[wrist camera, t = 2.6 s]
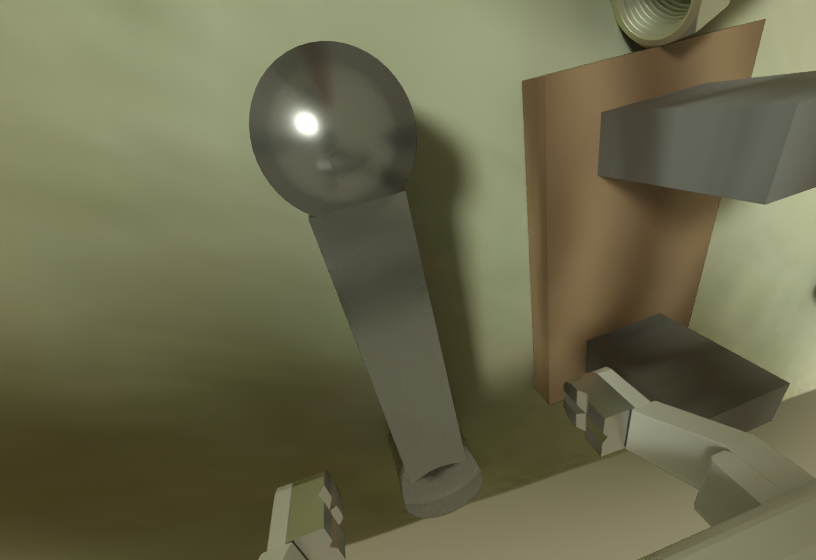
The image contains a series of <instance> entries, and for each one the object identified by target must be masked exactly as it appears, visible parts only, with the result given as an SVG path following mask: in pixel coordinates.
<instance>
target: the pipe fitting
mask: <svg viewBox="0 0 816 560" xmlns="http://www.w3.org/2000/svg"><path fill="white" fill-rule="evenodd" d="M729 2H730V0H612V7H613V11H614V15H615V18H616V21H617V23H618V25H619V26H620V27H621V29H622V30H623V31H624V32H625V33H626V35H628V36H629V37H630V38H631V39H632V40H634V41H635V42H636V43H638V44H639V45H641V46H643V47H644V48H646V49H647V48H653V47H657V46H661V45H664V44H668V43H670V42H673V41H676V40H679V39H681V38H684V37H686V36H689V35H691V34H694V33H696V32H697V31H698V30H699V29H701V28H702V27H703V26H704V25H705V24H707V23H708V22H709V21H710V20H711V19H713V18H714V17H715V16H716V15H717V14H719V13H720V12H721V11H722V10H723V9H725V8H726V7H727V6H728V4H729Z"/></svg>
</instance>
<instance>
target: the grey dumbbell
mask: <svg viewBox="0 0 816 560" xmlns="http://www.w3.org/2000/svg"><path fill="white" fill-rule="evenodd" d="M249 129H250V139H251V143H252V148H253V152H254V154H255V157H256V160H257V163H258V165H259V167H260V169H261V171H262V173H263V174H264V176H265V177H266V179H267V180H268V182H269V183H270V184H271V186H272V187H273V188H274V189H275V190H276V192H277V193H278V194H280V195H281V196H282V197H283V198H284V199H285V200H286V201H287V202H289V203H290V204H292V205H293V206H294V207H296V208H298V209H300V210H301V211H303V212H305V213H308V214H309V222H310V224H311V227H312V229H313V232H314V235H315V237H316V240H317V242H318V245H319V247H320V250H321V253H322V255H323V258H324V260H325V263H326V266H327V268H328V271H329V273H330V276H331V278H332V281H333V284H334V286H335V289H336V291H337V294H338V297H339V299H340V302H341V304H342V307H343V309H344V312H345V315H346V317H347V320H348V322H349V325H350V328H351V330H352V333H353V335H354V338H355V340H356V343H357V346H358V348H359V351H360V353H361V356H362V359H363V361H364V364H365V366H366V369H367V371H368V374H369V377H370V379H371V382H372V384H373V387H374V390H375V392H376V395H377V397H378V400H379V402H380V405H381V408H382V410H383V413H384V415H385V418H386V421H387V423H388V426H389V428H390V433H389V440H390V444H391V449H392V453H393V457H394V461H395V465H396V470H397V474H398V478H399V482H400V487H401V491H402V495H403V499H404V503H405V507H406V509H407V511H408V512H409V513H410V514H412V515H414V516H416V517H420V518H434V517H439V516H443V515H446V514H449V513H451V512H453V511H456V510H457V509H459V508H461V507H462V506H464V505H465V504H467V503H468V502H469V501H470V500H471V499H472V498H473V497H474V496H475V495H476V494H477V493H478V491H479V490H480V488H481V485H482V482H483V475H482V472H481V470H480V468H479V466H478V464H477V462H476V460H475V458H474V456H473V453H472V451H471V449H470V447H469V445H468V443H467V441H466V439H465V437H464V435H463V433H462V431H461V428H460V426H459V424H458V422H457V417H456V413H455V408H454V404H453V399H452V395H451V390H450V386H449V382H448V377H447V373H446V368H445V364H444V359H443V355H442V350H441V346H440V342H439V337H438V333H437V328H436V324H435V319H434V315H433V310H432V306H431V301H430V297H429V293H428V288H427V284H426V279H425V275H424V270H423V266H422V261H421V257H420V252H419V248H418V244H417V239H416V235H415V230H414V226H413V221H412V217H411V212H410V208H409V204H408V199H407V195H406V191H405V190H404V189H402V187H403V186H404V184H405V183H406V181H407V179H408V177H409V175H410V172H411V169H412V166H413V163H414V159H415V154H416V145H417V131H416V124H415V118H414V114H413V110H412V107H411V105H410V102H409V99H408V97H407V95H406V93H405V91H404V89H403V87H402V86H401V85H400V83H399V82H398V80H397V79H396V77H395V76H394V75H393V74H392V73H391V72H390V70H389V69H388V68H387V67H386V66H385V65H383V64H382V63H381V62H380V61H379V60H378V59H376V58H375V57H373V56H372V55H370V54H369V53H367V52H365V51H363V50H361V49H359V48H357V47H354V46H351V45H348V44H345V43H339V42H334V41H319V42H311V43H307V44H304V45H300V46H297V47H295V48H293V49H291V50H289V51H287V52H286V53H284V54H283V55H282V56H280V57H279V58H278V59H276V60H275V61H274V62H273V63H272V64H271V66H270V67H269V68H268V69H267V70H266V72H265V73H264V75H263V76H262V77H261V79H260V81H259V83H258V85H257V87H256V89H255V92H254V95H253V99H252V102H251V108H250V116H249Z"/></svg>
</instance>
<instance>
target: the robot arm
mask: <svg viewBox="0 0 816 560" xmlns="http://www.w3.org/2000/svg"><path fill="white" fill-rule="evenodd" d="M563 390H564V391H565V392H566V393H567V394H566V396H565V397H564V399H563V402H564V408H565V411H566V414H567V415H568V417H569V419H570V420H571V421H572V423H573V424H574V425H575V426H576V427H577V428H580V429H582V430H584V431H585V436H586V439H587V441H588V442H589V443H590V444H591V445H592V447H593V448H594V449H595V450H596V451H597V452H598V454H599V455H600V456H601V457H602V456H604V455H607V454H610V453H613V452H615V451H618V450H621V449H624V448H626V450H628V451H630V452H631V453H633V454H635V455H637V456H639V457H640V458H643V459H644V460H646V461H648V462H650V463H651V464H653V465H655V466H657V467H659V468H661V469H662V470H664V471H666V472H668V473H669V474H671V475H673V476H675V477H677V478H679V479H680V480H682V481H684V482H686V483H688V484H689V485H691V486H693V487H695V488H697V489H699V492H698V494H697V497H696V500H695V503H694V505H695V506H694V507H695V510H696V511H697V512H698V513H699V514H700V515H701V516H702V517H703V518H704V520H705V521H706V522H707V523H708V524H709V525H710V526H711V527H710V528H708V529H706V530H703V531H701V532H699V533H697V534H694V535H692V536H690V537H688V538H686V539H683V540H681V541H679V542H676V543H674V544H672V545H670V546H667V547H665V548H663V549H661V550H659V551H656V552H654V553H652V554H650V555H647V556H645V557H643V558H640V559H638V560H816V479H815V478H814V477H813V476H811V475H810V474H808V473H807V472H806V471H804V470H803V469H802V468H800V467H799V466H797V465H796V464H795V463H793V462H792V461H791V460H789V459H788V458H786V457H785V456H783V455H782V454H781V453H779V452H778V451H777V450H775V449H774V448H772V447H771V446H770V445H768V444H767V443H765V442H764V441H763V440H761V439H760V438H758V437H757V436H755V435H752V434H749V433H747V432H744V431H741V430H738V429H735V428H732V427H729V426H727V425H724V424H721V423H718V422H715V421H712V420H709V419H706V418H704V417H701V416H698V415H695V414H692V413H689V412H686V411H684V410H681V409H678V408H675V407H672V406H669V405H666V404H663V403H661V402H658V401H652V402H650V401H649V400H648V399H647V398H646V397H644V396H643V395H642V394H641V393H639V392H638V391H637V390H636V389H635V388H633V387H632V386H631V385H630V384H629V383H627V382H626V381H625V380H624V379H623V378H621V377H620V376H619V375H618V374H617V373H615V372H614V371H613V370H612V369H611V368H608V367H603V368H601V369H598V370H596V371H593V372H589V373H586V374H584V375H581V376H579V377H576V378H574V379H571V380H568V381H566V382H565V383H564V387H563ZM342 519H343V505H342V499H341V495H340V492H339V489H338V487H337V485H336V484H333V483H331V475H330V474H329V472H328V470H327V471H324V472H321V473H318V474H315V475H312V476H310V477H307V478H304V479H301V480H298V481H295V482H292V483H289V484H287V485H284V486H281V487H278V488H277V491H276V493H275V496H274V503H273V510H272V517H271V525H270V532H269V539H268V546H267V551H266V552H264V553H262V554H261V555H260V557H259V559H258V560H345V539H344V532H343V531H342V529H341V527H340V526H339V525H340V523H341V521H342Z"/></svg>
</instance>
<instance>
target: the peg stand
mask: <svg viewBox="0 0 816 560" xmlns="http://www.w3.org/2000/svg"><path fill="white" fill-rule="evenodd" d="M765 20H766V19H763V20H759V21H755V22H750V23H746V24H742V25H738V26H733V27H729V28H725V29H721V30H717V31H713V32H710V33H706V34H702V35H698V36H694V37H690V38H686V39H682V40H679V41H675V42H671V43H668V44H664V45H661V46H657V47H653V48H648V49H644V50H640V51H636V52H632V53H628V54H625V55H621V56H617V57H613V58H609V59H605V60H601V61H598V62H594V63H590V64H586V65H582V66H578V67H574V68H570V69H567V70H563V71H559V72H555V73H551V74H547V75H543V76H540V77H536V78H532V79H528V80H524V81H522V92H523V115H524V139H525V162H526V186H527V209H528V233H529V256H530V279H531V303H532V326H533V350H534V373H535V389H536V390H537V391H538V392H539V394H540V395H541V396H542V397H543V398H544V399H545V401H546V402H547V403H548V404H549V405H551V404H554V403H556V402H559V401H561V400H563V399H564V397H565V396H566V394H567V393H566V392H565V391H564V390H563V387H564V383H565V382H566V381H568V380H571V379H574V378H576V377H579V376H581V375H584V374H586V373H589V372H593V371H596V370H598V369H601V368H603V367H608V368H611V369H612V370H613V371H614V372H615V373H617V374H618V375H619V376H620V377H621V378H623V379H624V380H625V381H626V382H627V383H629V384H630V385H631V386H632V387H633V388H635V389H636V390H637V391H638V392H639V393H641V394H642V395H643V396H644V397H646V398H647V399H648V400H649V401H650V402H652V401H658V402H661V403H663V404H666V405H669V406H672V407H675V408H678V409H681V410H684V411H686V412H689V413H692V414H695V415H698V416H701V417H704V418H706V419H709V420H712V421H715V422H718V423H721V424H724V425H727V426H729V427H732V428H735V429H738V430H741V431H744V432H747V431H749V430H752V429H754V428H756V427H758V426H760V425H763V424H765V423H767V422H769V421H771V420H772V418H773V416H774V414H775V412H776V410H777V408H778V406H779V404H780V402H781V400H782V398H783V396H784V394H785V392H786V390H787V388H788V386H789V384H790V383H788V382H786V381H785V380H783V379H781V378H779V377H777V376H775V375H774V374H772V373H770V372H768V371H766V370H764V369H763V368H761V367H759V366H757V365H755V364H753V363H752V362H750V361H748V360H746V359H744V358H742V357H740V356H739V355H737V354H735V353H733V352H731V351H729V350H728V349H726V348H724V347H722V346H720V345H718V344H717V343H715V342H713V341H711V340H709V339H707V338H706V337H704V336H702V335H700V334H698V333H696V332H694V331H693V330H691V329H689V328H688V326H689V322H690V318H691V314H692V310H693V306H694V302H695V298H696V294H697V290H698V286H699V282H700V278H701V274H702V270H703V266H704V262H705V258H706V254H707V250H708V246H709V242H710V238H711V234H712V231H713V227H714V223H715V219H716V215H717V211H718V207H719V203H720V199H721V197H725V198H731V199H736V200H742V201H748V202H753V203H759V204H765V205H766V204H769V203H771V202H774V201H777V200H780V199H783V198H786V197H789V196H792V195H794V194H797V193H800V192H803V191H806V190H809V189H812V188H814V187H816V71H810V72H801V73H792V74H783V75H773V76H764V77H755V78H751V76H752V72H753V68H754V64H755V60H756V56H757V52H758V48H759V44H760V40H761V36H762V32H763V28H764V24H765Z"/></svg>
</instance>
